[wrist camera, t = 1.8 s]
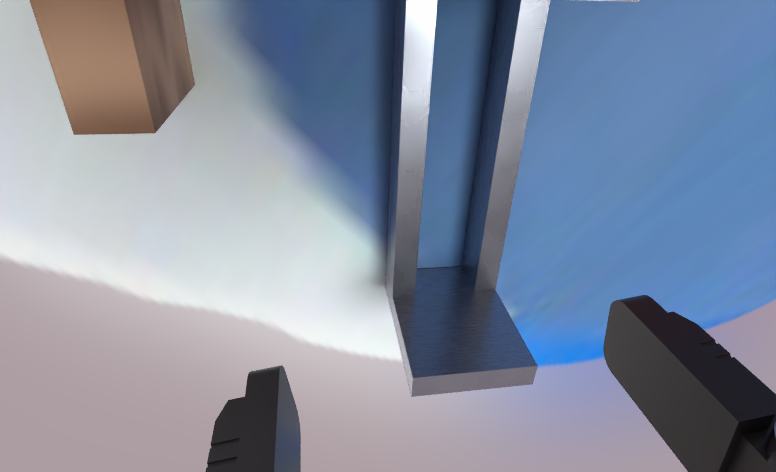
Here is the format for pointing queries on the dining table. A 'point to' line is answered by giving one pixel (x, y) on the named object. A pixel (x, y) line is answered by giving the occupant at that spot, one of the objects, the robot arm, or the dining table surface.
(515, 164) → the grey desk caddy
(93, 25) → the door panel
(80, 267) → the dining table surface
